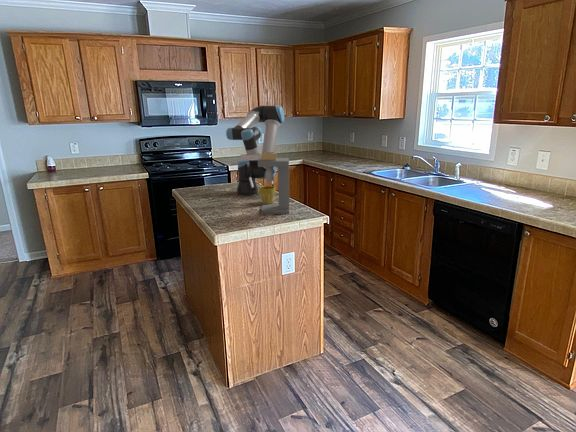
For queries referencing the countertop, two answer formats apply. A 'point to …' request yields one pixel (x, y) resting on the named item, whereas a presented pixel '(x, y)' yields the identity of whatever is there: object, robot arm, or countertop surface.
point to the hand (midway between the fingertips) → (262, 185)
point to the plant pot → (267, 194)
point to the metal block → (260, 156)
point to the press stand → (282, 185)
